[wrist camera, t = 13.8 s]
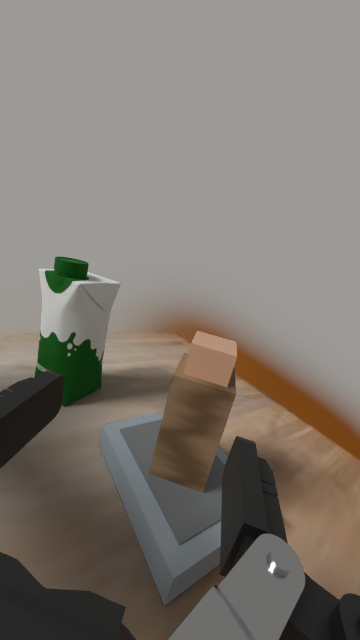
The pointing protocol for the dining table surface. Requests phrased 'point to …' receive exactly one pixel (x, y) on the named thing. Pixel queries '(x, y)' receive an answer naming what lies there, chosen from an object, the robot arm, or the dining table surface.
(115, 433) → the dock
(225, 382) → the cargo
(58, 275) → the milk carton
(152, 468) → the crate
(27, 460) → the dining table surface
